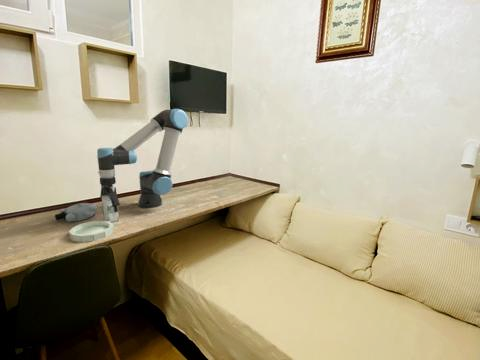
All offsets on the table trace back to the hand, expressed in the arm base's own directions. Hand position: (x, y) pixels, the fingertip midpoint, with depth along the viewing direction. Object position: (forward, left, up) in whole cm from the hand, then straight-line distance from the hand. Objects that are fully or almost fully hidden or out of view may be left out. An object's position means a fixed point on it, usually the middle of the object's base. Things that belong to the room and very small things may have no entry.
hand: (110, 214), depth 139 cm
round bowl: (+13, +11, -4) cm, 17 cm away
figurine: (+12, -17, -4) cm, 21 cm away
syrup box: (0, 0, -4) cm, 4 cm away
